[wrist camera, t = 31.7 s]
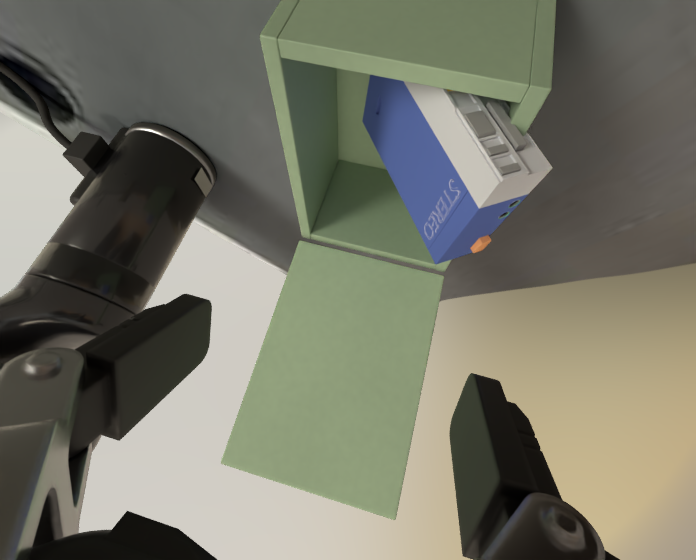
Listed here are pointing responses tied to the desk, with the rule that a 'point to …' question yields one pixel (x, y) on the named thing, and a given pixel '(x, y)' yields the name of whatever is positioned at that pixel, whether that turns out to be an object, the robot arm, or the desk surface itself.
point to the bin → (395, 63)
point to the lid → (339, 379)
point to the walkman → (451, 161)
